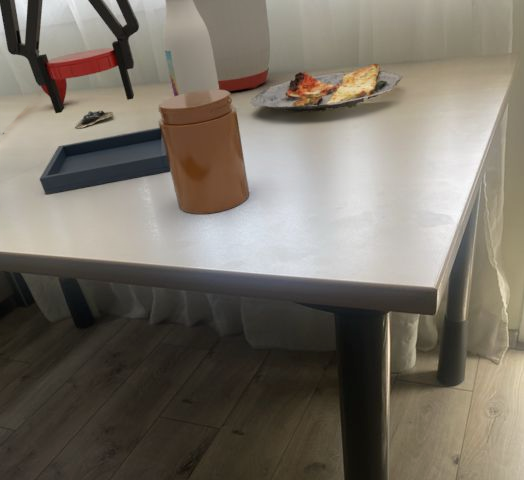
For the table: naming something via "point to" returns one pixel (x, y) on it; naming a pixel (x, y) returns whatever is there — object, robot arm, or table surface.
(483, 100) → the table surface
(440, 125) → the table surface
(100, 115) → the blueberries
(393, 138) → the table surface
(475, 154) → the table surface
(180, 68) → the milk bottle
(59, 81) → the strawberry
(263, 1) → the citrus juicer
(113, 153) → the tray
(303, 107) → the food plate
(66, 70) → the lid
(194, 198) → the jar
